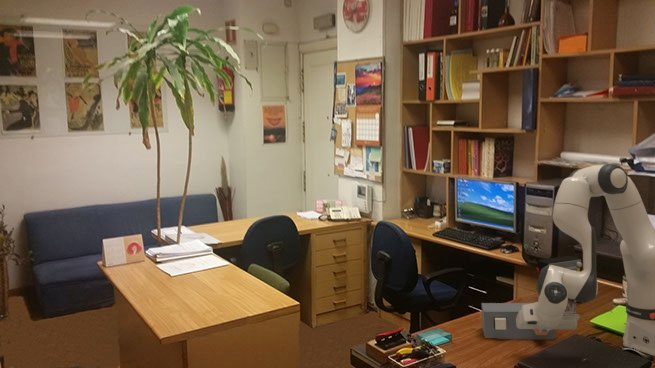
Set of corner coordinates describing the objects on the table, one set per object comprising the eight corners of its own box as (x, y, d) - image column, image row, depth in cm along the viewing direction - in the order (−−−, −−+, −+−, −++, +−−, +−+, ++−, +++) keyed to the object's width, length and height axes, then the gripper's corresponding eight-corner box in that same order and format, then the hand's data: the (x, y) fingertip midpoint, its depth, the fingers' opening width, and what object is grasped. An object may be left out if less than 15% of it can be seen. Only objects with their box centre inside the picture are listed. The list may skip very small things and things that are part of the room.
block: (555, 339, 210) (554, 311, 209) (484, 338, 215) (483, 311, 213) (549, 329, 220) (548, 303, 219) (482, 329, 225) (481, 303, 224)
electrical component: (551, 308, 244) (550, 264, 242) (537, 301, 254) (536, 259, 252) (584, 302, 249) (584, 259, 247) (569, 296, 258) (568, 255, 257)
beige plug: (506, 329, 211) (506, 319, 210) (495, 329, 212) (495, 319, 211) (502, 319, 221) (502, 310, 221) (492, 319, 222) (492, 310, 222)
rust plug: (547, 334, 203) (547, 324, 203) (536, 334, 204) (535, 324, 203) (541, 324, 213) (541, 314, 213) (531, 324, 214) (530, 314, 214)
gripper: (579, 305, 189) (572, 322, 199) (517, 305, 192) (513, 322, 203) (582, 322, 185) (575, 339, 195) (519, 321, 189) (515, 338, 199)
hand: (543, 330), depth 199 cm, fingers closed
